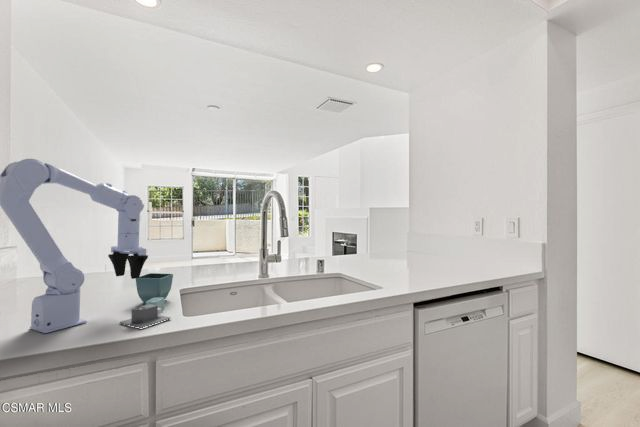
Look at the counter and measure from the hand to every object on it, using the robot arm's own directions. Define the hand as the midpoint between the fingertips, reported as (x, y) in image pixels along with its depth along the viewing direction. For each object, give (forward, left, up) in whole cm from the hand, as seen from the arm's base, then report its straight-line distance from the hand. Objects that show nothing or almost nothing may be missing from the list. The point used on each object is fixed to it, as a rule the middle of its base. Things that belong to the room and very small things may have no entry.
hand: (127, 277), depth 97 cm
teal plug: (+4, -8, -10) cm, 14 cm away
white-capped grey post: (-4, -15, -10) cm, 18 cm away
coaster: (-4, -15, -10) cm, 19 cm away
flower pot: (+11, +2, -11) cm, 15 cm away
